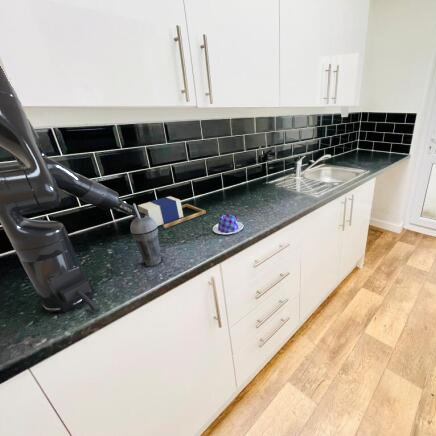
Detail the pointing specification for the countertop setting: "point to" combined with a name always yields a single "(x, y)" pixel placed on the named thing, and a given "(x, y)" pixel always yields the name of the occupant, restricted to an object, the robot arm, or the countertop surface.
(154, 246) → the beverage cup
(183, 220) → the oak frame
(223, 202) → the countertop surface
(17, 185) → the robot arm
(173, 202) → the eraser
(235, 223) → the pudding
